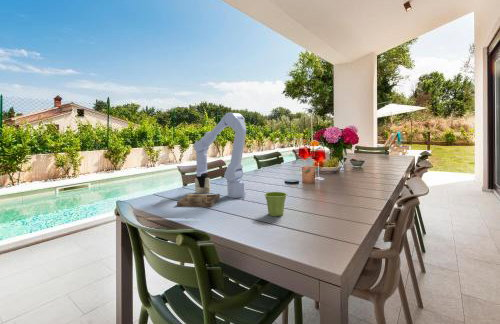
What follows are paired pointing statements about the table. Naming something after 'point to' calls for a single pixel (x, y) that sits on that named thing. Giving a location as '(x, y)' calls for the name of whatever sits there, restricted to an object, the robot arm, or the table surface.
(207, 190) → the birch block
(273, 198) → the plant pot
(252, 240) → the table surface
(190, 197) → the oak offcuts
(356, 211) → the table surface
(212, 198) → the walnut rack
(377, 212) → the table surface
